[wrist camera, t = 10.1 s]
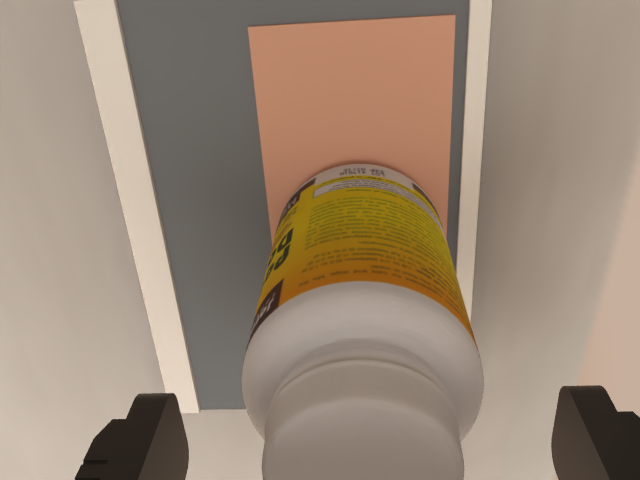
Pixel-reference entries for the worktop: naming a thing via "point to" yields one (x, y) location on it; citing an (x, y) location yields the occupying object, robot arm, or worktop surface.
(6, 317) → the worktop surface
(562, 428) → the robot arm
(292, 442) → the supplement bottle
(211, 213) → the mat
